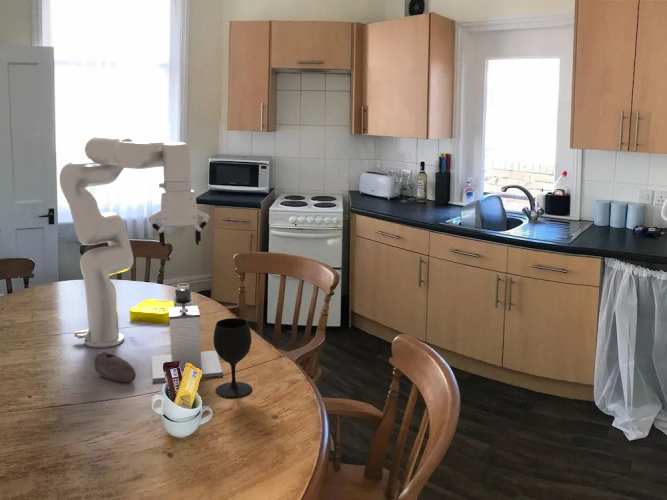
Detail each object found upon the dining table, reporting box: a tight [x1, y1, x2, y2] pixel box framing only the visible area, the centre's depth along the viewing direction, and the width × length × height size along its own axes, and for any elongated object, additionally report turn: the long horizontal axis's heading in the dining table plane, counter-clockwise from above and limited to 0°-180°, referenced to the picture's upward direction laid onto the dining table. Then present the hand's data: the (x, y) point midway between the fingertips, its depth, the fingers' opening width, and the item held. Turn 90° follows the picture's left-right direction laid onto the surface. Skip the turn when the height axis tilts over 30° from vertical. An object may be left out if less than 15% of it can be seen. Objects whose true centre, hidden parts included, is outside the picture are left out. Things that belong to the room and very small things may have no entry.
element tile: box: [129, 298, 174, 325], centre depth 269 cm, size 15×15×5 cm
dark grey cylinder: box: [174, 287, 192, 312], centre depth 219 cm, size 4×4×20 cm
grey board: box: [151, 350, 223, 383], centre depth 223 cm, size 20×18×1 cm
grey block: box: [168, 305, 202, 370], centre depth 222 cm, size 9×12×17 cm
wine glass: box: [213, 317, 253, 399], centre depth 204 cm, size 10×10×20 cm
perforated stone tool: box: [94, 351, 137, 383], centre depth 213 cm, size 15×5×7 cm, turn 56°
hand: (180, 244), depth 214 cm, fingers open, 9 cm apart
